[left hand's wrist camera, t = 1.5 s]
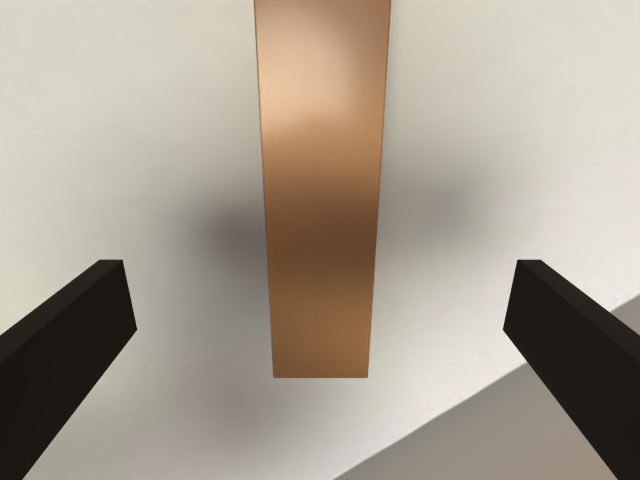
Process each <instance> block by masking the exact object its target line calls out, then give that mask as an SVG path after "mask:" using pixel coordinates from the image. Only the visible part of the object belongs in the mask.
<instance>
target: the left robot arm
mask: <svg viewBox="0 0 640 480" xmlns="http://www.w3.org/2000/svg"><path fill="white" fill-rule="evenodd" d="M136 331H137V327H136V322H135V317H134V312H133V307H132V303H131V298H130V293H129V288H128V284H127V279H126V274H125V269H124V264H123V260H98V261H97V262H96V263H95V264H93V265H92V266H91V267H89V268H88V269H87V270H85V271H84V272H83V273H81V274H80V275H79V276H78V277H76V278H75V279H74V280H72V281H71V282H70V283H68V284H67V285H66V286H64V287H63V288H62V289H60V290H59V291H58V292H57V293H55V294H54V295H53V296H51V297H50V298H49V299H47V300H46V301H45V302H43V303H42V304H41V305H40V306H38V307H37V308H36V309H34V310H33V311H32V312H30V313H29V314H28V315H26V316H25V317H24V318H23V319H21V320H20V321H19V322H17V323H16V324H15V325H13V326H12V327H11V328H9V329H8V330H7V331H5V332H4V333H3V334H2V335H0V480H22V479H23V478H24V477H25V475H26V474H27V473H28V471H29V470H30V469H31V468H32V466H33V465H34V464H35V462H36V461H37V460H38V458H39V457H40V456H41V455H42V453H43V452H44V451H45V449H46V448H47V447H48V445H49V444H50V443H51V441H52V440H53V439H54V438H55V436H56V435H57V434H58V432H59V431H60V430H61V428H62V427H63V426H64V425H65V423H66V422H67V421H68V419H69V418H70V417H71V415H72V414H73V413H74V412H75V410H76V409H77V408H78V406H79V405H80V404H81V402H82V401H83V400H84V398H85V397H86V396H87V395H88V393H89V392H90V391H91V389H92V388H93V387H94V385H95V384H96V383H97V382H98V380H99V379H100V378H101V376H102V375H103V374H104V372H105V371H106V370H107V368H108V367H109V366H110V365H111V363H112V362H113V361H114V359H115V358H116V357H117V355H118V354H119V353H120V352H121V350H122V349H123V348H124V346H125V345H126V344H127V342H128V341H129V340H130V338H131V337H132V336H133V335H134V333H135V332H136ZM503 331H504V332H505V333H506V335H507V336H508V337H509V338H510V340H511V341H512V342H513V344H514V345H515V346H516V348H517V349H518V350H519V352H520V353H521V354H522V355H523V357H524V358H525V359H526V361H527V362H528V363H529V365H530V366H531V367H532V368H533V370H534V371H535V372H536V374H537V375H538V376H539V378H540V379H541V380H542V382H543V383H544V384H545V385H546V387H547V388H548V389H549V391H550V392H551V393H552V395H553V396H554V397H555V398H556V400H557V401H558V402H559V404H560V405H561V406H562V408H563V409H564V410H565V412H566V413H567V414H568V415H569V417H570V418H571V419H572V421H573V422H574V423H575V425H576V426H577V427H578V428H579V430H580V431H581V432H582V434H583V435H584V436H585V438H586V439H587V440H588V441H589V443H590V444H591V445H592V447H593V448H594V449H595V451H596V452H597V453H598V455H599V456H600V457H601V458H602V460H603V461H604V462H605V464H606V465H607V466H608V468H609V469H610V470H611V471H612V473H613V474H614V475H615V477H616V478H617V479H618V480H640V335H638V334H637V333H636V332H635V331H633V330H632V329H631V328H629V327H628V326H627V325H625V324H624V323H623V322H621V321H620V320H619V319H617V318H616V317H615V316H614V315H612V314H611V313H610V312H608V311H607V310H606V309H604V308H603V307H602V306H600V305H599V304H598V303H597V302H595V301H594V300H593V299H591V298H590V297H589V296H587V295H586V294H585V293H583V292H582V291H581V290H580V289H578V288H577V287H576V286H574V285H573V284H572V283H570V282H569V281H568V280H566V279H565V278H564V277H562V276H561V275H560V274H559V273H557V272H556V271H555V270H553V269H552V268H551V267H549V266H548V265H547V264H545V263H544V262H543V261H542V260H517V264H516V269H515V274H514V279H513V284H512V288H511V293H510V298H509V303H508V307H507V312H506V317H505V322H504V327H503Z"/></svg>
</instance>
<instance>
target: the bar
mask: <svg viewBox="0 0 640 480" xmlns="http://www.w3.org/2000/svg"><path fill="white" fill-rule="evenodd" d="M390 10H391V0H254V14H255V33H256V53H257V72H258V91H259V110H260V130H261V149H262V168H263V187H264V207H265V226H266V245H267V264H268V284H269V303H270V322H271V341H272V361H273V377H274V378H367V377H368V364H369V348H370V332H371V316H372V300H373V284H374V268H375V251H376V235H377V219H378V203H379V187H380V171H381V155H382V139H383V122H384V106H385V90H386V74H387V58H388V42H389V26H390Z"/></svg>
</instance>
